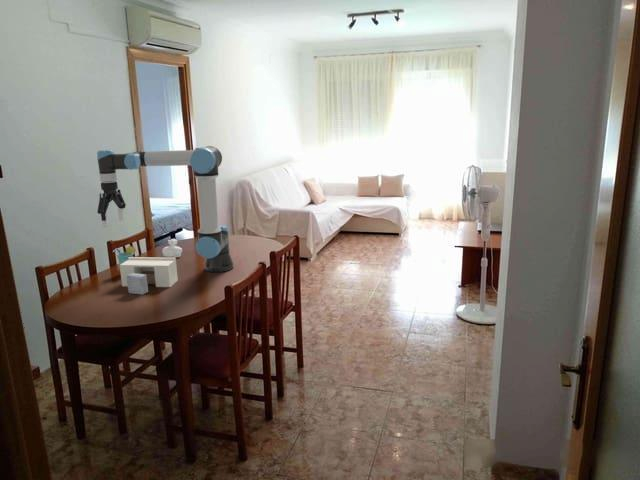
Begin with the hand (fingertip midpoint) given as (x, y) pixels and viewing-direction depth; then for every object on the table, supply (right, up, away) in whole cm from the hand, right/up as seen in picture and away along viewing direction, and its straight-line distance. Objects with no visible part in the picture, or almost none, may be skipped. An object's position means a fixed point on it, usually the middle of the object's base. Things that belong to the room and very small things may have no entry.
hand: (114, 223), depth 251 cm
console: (+20, -29, -6) cm, 36 cm away
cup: (+3, -26, +9) cm, 28 cm away
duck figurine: (+18, -18, +40) cm, 48 cm away
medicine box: (+19, -33, -18) cm, 42 cm away
